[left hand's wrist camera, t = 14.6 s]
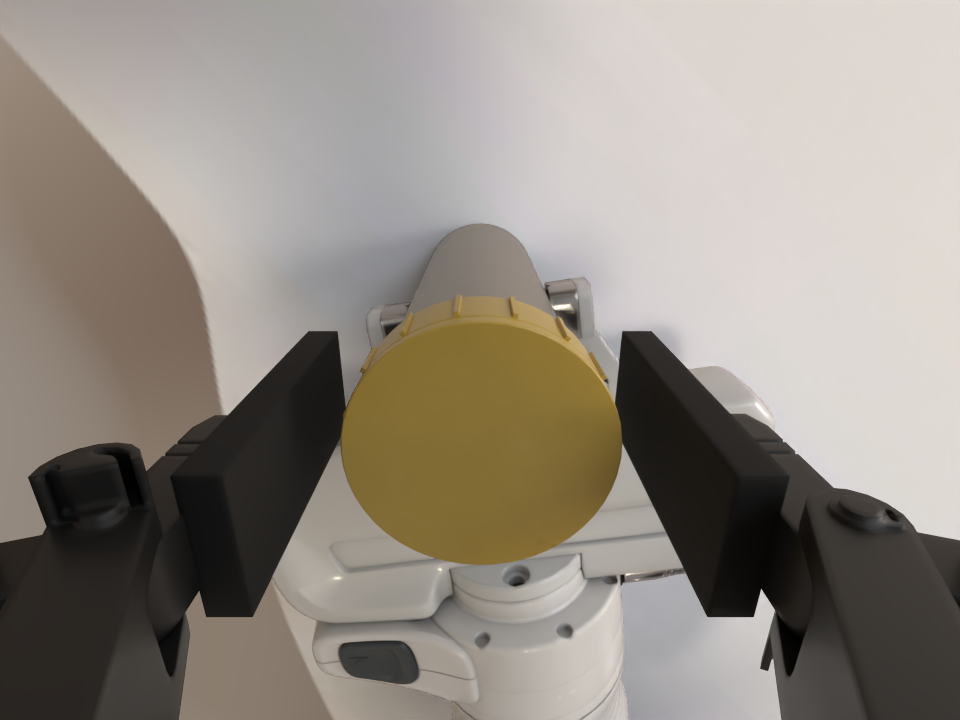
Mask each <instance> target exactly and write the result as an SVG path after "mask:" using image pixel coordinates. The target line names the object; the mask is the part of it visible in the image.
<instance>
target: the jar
mask: <svg viewBox="0 0 960 720" xmlns="http://www.w3.org/2000/svg"><path fill="white" fill-rule="evenodd" d="M460 294H461V296H462V298H463V297H475V296H489V297H500V298H506V299H509V297H510V296H513V297H515V301H519V302H522V303H525V304H528V305H530V306H533V307H536V308H538V309H540V310H541V311H543V312H545V313H547V314H549V315H551V316H552V317H554V318H555V319H556V318H557V316H556V313H555V311H554V309H553V307H552V305H551V303H550V301H549V298H548V296H547V294H546V292H545V290H544V288H543V286H542V283H541V281H540V279H539V277H538V275H537V273H536V271H535V268H534V266H533V264H532V262H531V260H530V258H529V256H528V253H527V252H526V250H525V248H524V246H523V245H522V244H521V243H520V241H519V240H518V239H517V238H516V237H515V236H513V235H512V234H511V233H509V232H508V231H506V230H504V229H502V228H500V227H497V226H493V225H489V224H472V225H467V226H464V227H461V228H459V229H457V230H455V231H453V232H452V233H450V234H449V235H447V236H446V237H445V238H444V239H443V240H442V241H441V242H440V243H439V245H438V246H437V248H436V249H435V251H434V253H433V255H432V257H431V260H430V262H429V264H428V266H427V268H426V271H425V273H424V275H423V277H422V279H421V282H420V284H419V286H418V288H417V291H416V293H415V295H414V297H413V299H412V302H411V304H410V306H409V308H408V310H407V313H406V315H405V317H404V319H403V321H404V320H405V319H406V316H407V314H408V313H410V312H412V313H413V315H414V314H415V313H417V312H419V311H421V310H423V309H425V308H428V307H430V306H432V305H434V304H438V303H441V302H444V301H448V300H451V299H456V295H460Z"/></svg>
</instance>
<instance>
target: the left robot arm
mask: <svg viewBox="0 0 960 720" xmlns="http://www.w3.org/2000/svg"><path fill="white" fill-rule="evenodd" d="M615 405H616V408H617V410H618V415H619V419H620V421H621V430H622V444H623V446H624V448H625V450H626V452H627V454H628V456H629V458H630V460H631V462H632V464H633V466H634V468H635V470H636V472H637V474H638V476H639V478H640V480H641V482H642V484H643V486H644V489H645V491H646V493H647V495H648V497H649V499H650V501H651V503H652V505H653V507H654V509H655V511H656V513H657V515H658V517H659V519H660V521H661V523H662V525H663V527H664V529H665V531H666V533H667V536H668V538H669V540H670V542H671V544H672V546H673V548H674V550H675V552H676V554H677V556H678V558H679V560H680V562H681V564H682V566H683V568H684V570H685V572H686V574H687V576H688V578H689V580H690V582H691V585H692V587H693V589H694V591H695V593H696V595H697V597H698V599H699V601H700V603H701V605H702V607H703V609H704V611H705V613H706V615H707V617H754V614H755V610H756V606H757V602H758V598H759V595H760V591H761V589H762V590H763V592H764V593H765V595H766V597H767V598H768V600H769V601H770V603H771V604H772V606H773V607H774V609H775V613H774V617H773V620H772V624H771V627H770V631H769V635H768V638H767V642H766V645H765V649H764V653H763V656H762V661H761V667H760V669H763V670H766V671H768V669H769V666H770V662H771V660H772V659H773V660H774V667H775V675H776V682H777V690H778V697H779V704H780V712H781V719H782V720H960V541H959V540H954V539H949V538H944V537H938V536H933V535H928V534H923V533H918V532H917V531H916V530H915V528H914V526H913V525H912V524H911V523H910V521H909V520H908V519H907V518H906V517H905V516H904V515H903V514H902V513H900V512H899V511H897V510H896V509H894V508H893V507H891V506H890V505H888V504H887V503H885V502H882V501H880V500H878V499H876V498H873V497H871V496H869V495H866V494H862V493H859V492H855V491H851V490H848V489H838V488H833V487H832V486H831V485H830V484H829V483H828V482H827V481H826V480H825V479H824V478H823V477H822V476H821V475H820V474H818V473H817V472H816V471H815V470H814V469H813V468H812V467H811V466H810V465H809V464H808V463H807V462H806V461H805V460H804V459H803V458H802V457H801V456H799V455H798V454H795V451H794V450H793V449H792V448H791V447H790V446H789V445H788V444H787V443H786V442H783V439H782V438H781V437H779V436H778V435H777V434H776V433H775V432H774V431H773V430H772V429H771V428H770V427H769V426H768V425H766V424H764V423H762V422H760V421H758V420H756V419H755V418H753V417H751V416H749V415H747V414H730V413H729V412H728V411H727V410H726V409H725V407H724V406H723V405H722V404H721V403H720V402H719V401H718V400H717V399H716V398H715V397H714V396H713V395H712V394H711V393H710V392H709V391H708V390H707V389H706V388H705V387H704V386H703V385H702V383H701V382H700V381H699V380H698V379H697V378H696V377H695V376H694V375H693V374H692V373H691V372H690V371H689V370H688V369H687V368H686V367H685V366H684V365H683V364H682V363H681V362H680V361H679V360H678V358H677V357H676V356H675V355H674V354H673V353H672V352H671V351H670V350H669V349H668V348H667V347H666V346H665V345H664V344H663V343H662V342H661V341H660V340H659V339H658V338H657V337H656V336H655V334H654V333H653V332H652V331H622V340H621V350H620V359H619V369H618V378H617V387H616V397H615ZM345 409H346V406H345V397H344V388H343V378H342V369H341V359H340V350H339V341H338V331H308V332H307V333H306V334H305V336H304V337H303V338H302V339H301V340H300V341H299V342H298V343H297V344H296V345H295V346H294V347H293V348H292V349H291V350H290V351H289V352H288V353H287V354H286V355H285V356H284V357H283V358H282V360H281V361H280V362H279V363H278V364H277V365H276V366H275V367H274V368H273V369H272V370H271V371H270V372H269V373H268V374H267V375H266V376H265V377H264V378H263V379H262V380H261V381H260V382H259V383H258V385H257V386H256V387H255V388H254V389H253V390H252V391H251V392H250V393H249V394H248V395H247V396H246V397H245V398H244V399H243V400H242V401H241V402H240V403H239V404H238V405H237V406H236V407H235V409H234V410H233V411H232V412H231V413H230V414H229V415H215V416H213V417H211V418H209V419H207V420H205V421H203V422H202V423H200V424H198V425H196V426H194V427H193V428H191V429H190V430H189V431H188V432H187V433H186V434H185V435H184V436H183V437H182V438H181V439H180V440H179V441H178V444H175V445H174V446H172V448H170V449H169V450H168V451H167V452H166V454H165V456H162V457H161V458H160V459H159V460H158V461H157V462H156V463H155V464H154V465H153V466H152V467H151V468H149V470H147V471H146V469H145V466H144V462H143V459H142V455H141V452H140V449H138V448H137V447H135V446H134V445H132V444H125V443H106V444H97V445H93V446H88V447H84V448H80V449H76V450H74V451H71V452H68V453H66V454H63V455H60V456H58V457H56V458H54V459H52V460H50V461H48V462H47V463H45V464H43V465H41V466H40V467H38V468H37V469H36V470H35V471H34V472H33V473H32V474H31V475H30V476H29V477H28V478H29V481H30V484H31V487H32V489H33V492H34V494H35V497H36V500H37V502H38V505H39V508H40V510H41V513H42V516H43V518H44V521H45V523H46V526H47V527H46V529H45V531H44V533H43V534H42V535H40V536H34V537H29V538H24V539H19V540H14V541H9V542H4V543H0V720H179V713H180V706H181V699H182V691H183V684H184V676H185V669H186V661H187V654H188V646H189V639H190V631H189V624H188V620H187V617H186V613H185V612H186V610H187V609H188V607H189V606H190V604H191V602H192V601H193V599H194V598H195V596H196V595H197V593H198V592H199V591H200V595H201V598H202V602H203V606H204V610H205V614H206V617H253V615H254V613H255V611H256V609H257V607H258V605H259V603H260V601H261V599H262V597H263V595H264V593H265V590H266V589H267V586H268V584H269V582H270V580H271V578H272V576H273V574H274V572H275V570H276V568H277V566H278V564H279V562H280V560H281V558H282V556H283V554H284V552H285V550H286V548H287V546H288V544H289V542H290V540H291V538H292V535H293V533H294V531H295V529H296V527H297V525H298V523H299V521H300V519H301V517H302V515H303V513H304V511H305V509H306V507H307V505H308V503H309V501H310V499H311V497H312V495H313V493H314V491H315V489H316V486H317V484H318V482H319V480H320V478H321V476H322V474H323V472H324V470H325V468H326V466H327V464H328V462H329V460H330V458H331V456H332V454H333V452H334V450H335V448H336V446H337V444H338V442H339V439H340V437H341V430H342V423H343V413H344V411H345Z"/></svg>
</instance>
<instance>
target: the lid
mask: <svg viewBox="0 0 960 720" xmlns="http://www.w3.org/2000/svg"><path fill="white" fill-rule="evenodd" d="M360 372H362V373H363V374H362V376H361V378H360V380H359V382H358V384H357V386H356V388H355V390H354V392H353V394H352V396H351V398H350V400H349V402H348V405H347V407H346V409H345V411H344V413H343V423H342V430H341V456H342V463H343V468H344V471H345V474H346V478H347V481H348V483H349V486H350V488H351V490H352V492H353V494H354V496H355V498H356V499H357V501H358V502H359V504H360V505H361V507H362V508H363V510H364V511H365V512H366V514H367V515H368V516H369V517H370V518H371V519H372V520H373V522H374V523H375V524H377V525H378V526H379V527H380V528H381V529H382V530H383V531H384V532H385V533H387V534H388V535H390V536H391V537H392V538H394V539H395V540H397V541H398V542H400V543H401V544H403V545H405V546H407V547H409V548H411V549H412V550H415V551H417V552H419V553H422V554H424V555H427V556H429V557H433V558H436V559H440V560H443V561H448V562H453V563H459V564H470V565H495V564H502V563H510V562H514V561H519V560H523V559H527V558H530V557H533V556H535V555H538V554H541V553H543V552H546V551H548V550H550V549H552V548H554V547H556V546H558V545H559V544H561V543H563V542H564V541H566V540H567V539H569V538H571V537H572V536H573V535H574V534H576V533H577V532H578V531H579V530H581V529H582V528H583V527H584V526H585V525H586V524H587V523H588V522H589V521H590V520H591V519H592V518H593V517H594V516H595V514H596V513H597V512H598V510H599V509H600V508H601V506H602V505H603V504H604V502H605V500H606V499H607V497H608V495H609V493H610V492H611V490H612V487H613V485H614V482H615V480H616V477H617V474H618V470H619V466H620V462H621V455H622V430H621V421H620V419H619V415H618V410H617V408H616V405H615V403H614V400H613V398H612V395H611V393H610V392H609V390H608V388H607V386H606V384H605V382H604V380H605V379H607V377H606V375H605V374H604V372H603V370H602V368H601V366H600V365H599V363H598V361H597V359H596V357H595V356H594V354H593V352H590V353H588V352H587V350H586V348H585V347H584V346H583V344H582V343H581V342H580V341H579V339H578V338H577V337H576V336H575V335H574V334H573V333H572V332H571V331H570V330H569V329H568V328H567V327H566V326H565V324H564V322H563V320H562V318H560V317H559V316H558V317H557V318H556V319H555V318H554V317H552V316H551V315H549V314H547V313H545V312H543V311H541V310H540V309H538V308H536V307H533V306H530V305H528V304H525V303H522V302H519V301H515V297H513V296H510V297H509V299H506V298H500V297H489V296H475V297H463V298H462V296H461V294H460V295H456V299H451V300H448V301H444V302H441V303H438V304H434V305H432V306H430V307H428V308H425V309H423V310H421V311H419V312H417V313H415V314H414V315H413V313H412V312H410V313H408V314H407V316H406V319H405V320H404V321H403V322H402V323H401V324H399V325H398V326H397V327H396V328H395V329H393V330H392V331H391V332H390V333H389V334H388V336H387V337H386V338H385V339H384V340H383V341H382V342H381V344H380V345H379V347H377V346H374V347H373V348H372V350H371V352H370V354H369V356H368V357H367V359H366V361H365V363H364V365H363V367H362V368H361V370H360Z"/></svg>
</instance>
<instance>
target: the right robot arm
mask: <svg viewBox="0 0 960 720" xmlns="http://www.w3.org/2000/svg"><path fill="white" fill-rule="evenodd" d="M544 290H545V292H546V294H547V296H548V298H549V301H550V303H551V305H552V307H553V309H554V311H555V313H556V316H557V317H558V316H559V317H560V318H562V320H563V322H564V324H565V326H566V327H567V328H568V329H569V330H570V331H571V332H572V333H573V334H574V335H575V336H576V337H577V338H578V339H579V341H580V342H581V343H582V344H583V346H584V347H585V348H586V350H587V352H588V353H590V352H593V354H594V356H595V357H596V359H597V361H598V363H599V365H600V366H601V368H602V370H603V372H604V374H605V375H606V377H607V379H605V380H604V382H605V384H606V386H607V388H608V390H609V392H610V393H611V395H612V398H613V400H614V403H615V397H616V387H617V378H618V369H619V360H618V359H617V357H616V356H615V354H614V353H613V352H612V350H611V349H610V347H609V346H608V345H607V343H606V342H605V341H604V339H603V338H602V337H601V335H600V334H599V333H598V331H597V330H596V329H595V319H594V305H593V294H592V290H591V285H590V283H589V282H588V281H587V279H586V278H585V277H579V278H572V279H565V280H559V281H552V282H546V283H544ZM410 304H411V302H408V303H400V304H392V305H382V306H377V307H372V308H371V310H370V311H369V313H368V314H367V319H366V323H367V332H368V336H369V340H370V344H371V348H373V347H374V346H377V347H379V345H380V344H381V342H382V341H383V340H384V339H385V338H386V337H387V336H388V334H389V333H390V332H391V331H392V330H393V329H395V328H396V327H397V326H398V325H399V324H401V323H402V322H403V319H404V317H405V315H406V313H407V310H408V308H409V306H410ZM688 370H689V371H690V372H691V373H692V374H693V375H694V376H695V377H696V378H697V379H698V380H699V381H700V382H701V383H702V385H703V386H704V387H705V388H706V389H707V390H708V391H709V392H710V393H711V394H712V395H713V396H714V397H715V398H716V399H717V400H718V401H719V402H720V403H721V404H722V405H723V406H724V407H725V409H726V410H727V411H728V412H729V413H730V414H747V415H749V416H751V417H753V418H755V419H756V420H758V421H760V422H762V423H764V424H766V425H768V426H769V427H770V428H771V429H772V430H773V431H774V432H775V421H774V417H773V415H772V413H771V411H770V409H769V408H768V406H767V405H766V404H765V403H764V402H763V400H762V399H761V398H760V397H759V396H758V395H757V394H756V393H755V392H754V391H753V390H752V389H751V388H750V387H749V386H747V385H746V384H745V383H744V382H743V381H741V380H740V379H738V378H737V377H736V376H734V375H733V374H732V373H730V372H729V371H728V370H726V369H724V368H722V367H718V366H711V367H702V368H695V369H688ZM682 573H683V574H686V572H685V570H684V568H683V566H682V564H681V562H680V560H679V558H678V556H677V554H676V552H675V550H674V548H673V546H672V544H671V542H670V540H669V538H668V536H667V533H666V531H665V529H664V527H663V525H662V523H661V521H660V519H659V517H658V515H657V513H656V511H655V509H654V507H653V505H652V503H651V501H650V499H649V497H648V495H647V493H646V491H645V489H644V486H643V484H642V482H641V480H640V478H639V476H638V474H637V472H636V470H635V468H634V466H633V464H632V462H631V460H630V458H629V456H628V454H627V452H626V450H625V448H624V446H623V444H622V455H621V462H620V466H619V470H618V474H617V477H616V480H615V482H614V485H613V487H612V490H611V492H610V493H609V495H608V497H607V499H606V500H605V502H604V504H603V505H602V506H601V508H600V509H599V510H598V512H597V513H596V514H595V516H594V517H593V518H592V519H591V520H590V521H589V522H588V523H587V524H586V525H585V526H584V527H583V528H582V529H581V530H579V531H578V532H577V533H576V534H574V535H573V536H572V537H571V538H569V539H567V540H566V541H564V542H563V543H561V544H559V545H558V546H556V547H554V548H552V549H550V550H548V551H546V552H543V553H541V554H538V555H535V556H533V557H530V558H527V559H523V560H519V561H514V562H510V563H502V564H495V565H470V564H459V563H453V562H448V561H443V560H440V559H436V558H433V557H429V556H427V555H424V554H422V553H419V552H417V551H415V550H412V549H411V548H409V547H407V546H405V545H403V544H401V543H400V542H398V541H397V540H395V539H394V538H392V537H391V536H390V535H388V534H387V533H385V532H384V531H383V530H382V529H381V528H380V527H379V526H378V525H377V524H375V523H374V522H373V520H372V519H371V518H370V517H369V516H368V515H367V514H366V512H365V511H364V510H363V508H362V507H361V505H360V504H359V502H358V501H357V499H356V498H355V496H354V494H353V492H352V490H351V488H350V486H349V483H348V481H347V478H346V474H345V471H344V468H343V463H342V456H341V437H340V439H339V442H338V444H337V446H336V448H335V450H334V452H333V454H332V456H331V458H330V460H329V462H328V464H327V466H326V468H325V470H324V472H323V474H322V476H321V478H320V480H319V482H318V484H317V486H316V489H315V491H314V493H313V495H312V497H311V499H310V501H309V503H308V505H307V507H306V509H305V511H304V513H303V515H302V517H301V519H300V521H299V523H298V525H297V527H296V529H295V531H294V533H293V535H292V538H291V540H290V542H289V544H288V546H287V548H286V550H285V552H284V554H283V556H282V558H281V560H280V562H279V564H278V566H277V568H276V570H275V572H274V574H273V576H272V579H273V581H274V582H275V584H276V586H277V588H278V589H279V591H280V592H281V594H282V595H283V596H284V598H285V599H286V600H287V601H288V602H289V603H290V604H291V606H292V607H293V608H295V609H296V610H297V611H299V612H300V613H302V614H303V615H305V616H307V617H309V618H311V619H314V620H317V623H316V628H315V633H314V638H313V644H312V650H313V655H314V658H315V661H316V663H317V665H318V666H319V668H320V669H321V670H322V671H324V672H325V673H327V674H329V675H332V676H336V677H342V678H349V679H357V680H366V681H372V682H379V683H385V684H391V685H397V686H401V687H406V688H411V689H415V690H418V691H422V692H426V693H429V694H432V695H435V696H438V697H441V698H444V699H447V700H450V701H452V720H629V713H628V704H627V698H626V693H625V689H624V686H623V682H622V679H621V675H622V671H623V666H624V654H625V650H624V631H623V615H622V596H621V585H622V583H627V582H636V581H645V580H654V579H659V578H663V577H668V576H672V575H676V574H682Z"/></svg>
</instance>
